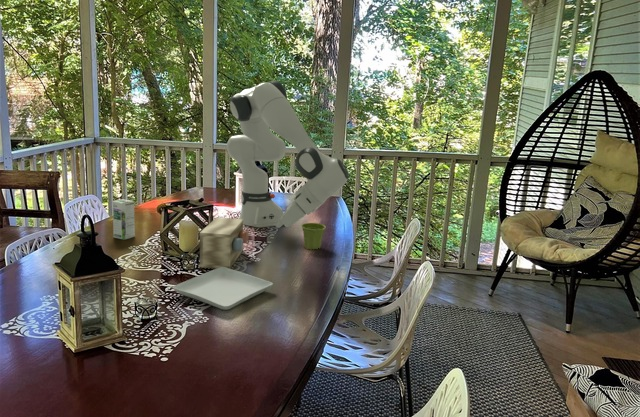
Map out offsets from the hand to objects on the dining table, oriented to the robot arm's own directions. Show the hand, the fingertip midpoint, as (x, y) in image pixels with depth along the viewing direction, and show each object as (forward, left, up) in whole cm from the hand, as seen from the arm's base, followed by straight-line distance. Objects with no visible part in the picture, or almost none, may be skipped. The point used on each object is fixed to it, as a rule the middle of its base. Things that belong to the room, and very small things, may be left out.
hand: (277, 225), depth 163 cm
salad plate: (+21, +17, -15) cm, 31 cm away
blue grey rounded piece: (+14, -7, -10) cm, 18 cm away
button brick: (+9, -15, -10) cm, 20 cm away
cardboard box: (+15, -13, -15) cm, 25 cm away
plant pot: (-21, -17, -15) cm, 31 cm away
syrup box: (+46, -46, -15) cm, 67 cm away
